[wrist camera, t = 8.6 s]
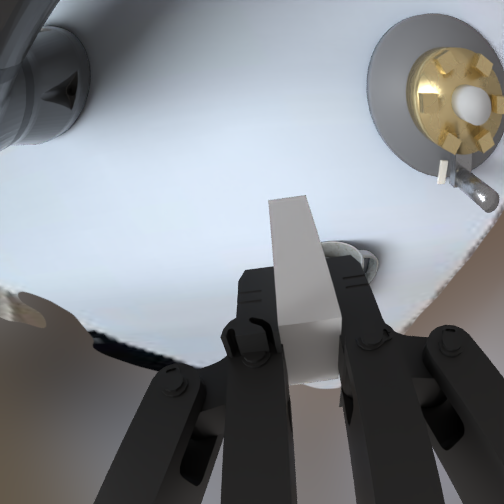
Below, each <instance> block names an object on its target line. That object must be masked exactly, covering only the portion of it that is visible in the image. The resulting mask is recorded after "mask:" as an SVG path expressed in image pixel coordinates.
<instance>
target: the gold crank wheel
mask: <svg viewBox="0 0 504 504" xmlns="http://www.w3.org/2000/svg"><path fill="white" fill-rule="evenodd" d="M492 66H493V63H491V62H490V61H489V60H488V59H487V58H486V57H484V56H483V55H482V54H480V53H475V52H473V51H471V50H468V49H464V48H457V47H437V48H433V49H430V50H428V51H426V52H425V53H423V54H422V55H421V56H420V57H419V58H418V59H417V60H416V61H415V63H414V64H413V66H412V68H411V70H410V72H409V75H408V78H407V84H406V101H407V106H408V110H409V113H410V116H411V118H412V120H413V122H414V124H415V126H416V127H417V129H418V130H419V131H420V132H421V133H422V134H423V135H424V136H425V137H426V138H427V139H429V140H430V141H432V142H433V143H435V144H437V145H438V146H440V147H441V148H443V149H445V150H447V151H448V152H451V158H450V182H449V183H450V184H451V185H452V186H453V187H454V188H455V187H458V188H459V189H461V190H462V191H463V192H464V193H465V194H466V195H468V196H469V197H470V198H471V199H472V200H473V201H474V202H475V203H477V204H478V205H479V206H480V207H481V208H482V209H483V210H484V211H485V212H488V213H490V212H492V211H494V210H495V209H496V208H497V206H498V204H499V195H498V193H497V192H496V191H494V190H493V189H492V188H491V187H489V186H488V185H487V184H486V183H484V182H483V181H482V180H480V179H479V178H478V177H476V176H475V175H474V174H472V173H471V165H472V153H475V152H477V151H480V152H482V153H485V152H486V151H487V150H489V149H490V148H491V147H492V146H494V145H495V144H494V141H493V137H494V136H495V134H496V132H497V130H498V128H499V126H500V123H501V119H502V114H504V96H503V95H502V90H501V86H500V83H499V81H498V78H497V76H496V74H495V72H494V71H493V69H492ZM462 84H467V85H471V86H474V87H478V88H481V89H483V90H484V91H485V92H486V93H487V94H488V96H489V98H490V101H491V114H490V116H489V118H488V120H487V121H486V122H485V123H484V124H482V125H473V124H471V123H469V122H466V121H464V120H462V119H460V118H459V117H457V116H456V114H455V113H454V111H453V108H452V104H451V98H452V94H453V91H454V90H455V89H456V88H457V87H458V86H459V85H462Z"/></svg>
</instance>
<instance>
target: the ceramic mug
mask: <svg viewBox="0 0 504 504" xmlns="http://www.w3.org/2000/svg"><path fill="white" fill-rule="evenodd" d="M321 245H322V249H323V252H324V255H325V258H331V257H339V256H346V255H351V256H353V257H354V258H355V259H356V260H357V261H358V262H360V263H361V266H362V268H363V270H364V258H370V261H369V265H368V269H367V272H366V274H365V276H366V278H367V280H368V283H370V282H371V281H372V279H373V278H374V276H375V274H376V272H377V269H378V259H377V257H376V256H374V255H373V254H372V253H371V252H369V251H367V250H358V249H357V248H355V247H354V246H352V245H350V244H347V243H343V242H337V241H328V242H321Z"/></svg>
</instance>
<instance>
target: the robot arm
mask: <svg viewBox="0 0 504 504" xmlns="http://www.w3.org/2000/svg"><path fill="white" fill-rule="evenodd" d="M59 1H60V0H0V151H1V150H3V149H5V148H6V147H8V146H10V145H36V144H41V143H44V142H47V141H49V140H51V139H53V138H55V137H57V136H59V135H61V134H62V133H64V132H65V131H66V130H67V129H69V128H70V127H71V126H72V124H73V123H74V122H75V121H76V119H77V118H78V116H79V115H80V113H81V111H82V109H83V107H84V104H85V102H86V99H87V95H88V91H89V84H90V67H89V61H88V57H87V54H86V51H85V49H84V47H83V45H82V44H81V42H80V41H79V39H78V38H77V37H76V36H75V35H74V34H72V33H71V32H70V31H68V30H66V29H64V28H61V27H55V26H43V25H44V24H45V22H46V20H47V19H48V17H49V16H50V14H51V13H52V11H53V10H54V8H55V7H56V5H57V4H58V2H59ZM268 203H269V214H270V226H271V238H272V251H273V263H274V266H273V267H265V268H258V269H250V270H245V271H244V273H243V275H242V276H241V278H240V279H239V281H238V298H237V304H238V305H237V315H236V318H235V319H233V320H232V321H230V322H229V323H228V324H227V325H226V327H225V328H224V329H223V332H222V335H221V340H222V342H223V345H224V347H225V350H226V353H227V356H226V357H225V358H223V359H222V360H221V361H219V362H217V363H215V364H212V365H210V366H207V367H204V368H201V369H198V370H195V369H194V368H193V367H192V366H189V365H187V364H172V365H169V366H166V367H164V368H163V369H162V370H160V371H159V372H158V373H157V374H156V376H155V377H154V378H153V379H152V381H151V383H150V385H149V387H148V389H147V391H146V393H145V395H144V397H143V400H142V402H141V404H140V406H139V408H138V410H137V412H136V414H135V416H134V418H133V420H132V422H131V424H130V426H129V428H128V431H127V433H126V435H125V437H124V439H123V441H122V443H121V445H120V447H119V449H118V452H117V454H116V456H115V458H114V460H113V462H112V464H111V467H110V469H109V471H108V473H107V475H106V477H105V480H104V482H103V484H102V486H101V488H100V491H99V493H98V495H97V497H96V499H95V502H94V504H201V502H202V499H203V496H204V493H205V491H206V488H207V484H208V482H209V479H210V476H211V473H212V470H213V467H214V464H215V461H216V458H217V455H218V452H219V450H220V446H221V444H222V440H223V437H224V445H223V465H222V486H221V504H297V491H296V490H297V489H296V472H295V457H294V441H293V427H292V413H291V401H290V395H289V385H296V384H304V383H312V382H319V381H326V380H332V379H338V377H339V375H340V380H341V394H340V405H339V407H342V406H343V412H344V418H345V424H346V430H347V437H348V443H349V450H350V457H351V464H352V471H353V479H354V486H355V495H356V503H357V504H445V502H444V497H443V493H442V488H441V483H440V478H439V474H438V470H437V466H436V461H435V457H434V453H433V449H434V451H435V452H436V454H437V456H438V458H439V460H440V462H441V463H442V465H443V467H444V469H445V471H446V472H447V474H448V476H449V478H450V480H451V482H452V484H453V485H454V487H455V489H456V491H457V493H458V495H459V496H460V499H461V500H462V503H463V504H504V378H503V376H502V375H501V374H500V373H499V371H498V370H497V369H496V367H495V366H494V365H493V364H492V363H491V361H490V360H489V358H488V357H487V356H486V355H485V354H484V352H483V351H482V350H481V348H479V346H478V345H477V344H476V342H475V341H474V340H473V339H472V338H471V336H470V335H469V334H468V333H467V332H465V331H464V330H463V329H461V328H459V327H456V326H453V325H443V326H440V327H437V328H436V329H434V330H433V331H432V332H431V333H430V335H429V337H416V336H406V335H402V334H399V333H397V332H395V331H393V329H392V328H391V327H390V326H389V325H387V324H386V323H385V322H384V320H383V318H382V316H381V313H380V311H379V308H378V305H377V303H376V300H375V298H374V295H373V293H372V290H371V288H370V285H369V283H368V280H367V278H366V276H365V273H364V270H363V268H362V266H361V263H360V262H358V261H357V260H356V259H355V258H354V257H353V256H351V255H346V256H339V257H331V258H325V255H324V252H323V249H322V245H321V242H320V239H319V236H318V232H317V229H316V226H315V223H314V220H313V217H312V213H311V210H310V207H309V204H308V201H307V198H306V195H304V196H296V197H289V198H282V199H274V200H268ZM432 447H433V449H432Z"/></svg>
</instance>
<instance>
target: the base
mask: <svg viewBox="0 0 504 504" xmlns="http://www.w3.org/2000/svg"><path fill="white" fill-rule="evenodd" d="M437 47H457V48H464V49H468V50H471V51H473V52H475V53H480V54H482V55H483V56H484V57H486V58H487V59H488V60H489V61H490V62H491V63H493V66H492V69H493V71H494V72H495V74H496V76H497V78H498V81H499V83H500V86H501V90H502V95H503V96H504V70H503V67H502V65H501V63H500V61H499V58H498V57H497V55H496V53H495V51H494V50H493V48H492V47H491V46H490V44H489V43H488V42H487V41H486V39H485V38H484V37H483V36H482V35H481V34H480V33H479V32H477V31H476V30H475V29H474V28H473V27H471V26H470V25H468V24H467V23H465V22H463V21H461V20H459V19H457V18H454V17H451V16H448V15H442V14H423V15H417V16H412V17H409V18H407V19H404V20H402V21H400V22H399V23H397V24H395V25H394V26H393V27H391V28H390V29H389V30H388V31H387V32H386V33H385V34H384V35H383V37H382V38H381V39H380V41H379V42H378V44H377V46H376V47H375V50H374V52H373V54H372V56H371V60H370V63H369V67H368V74H367V99H368V105H369V109H370V113H371V116H372V119H373V122H374V124H375V126H376V129H377V131H378V133H379V134H380V136H381V138H382V139H383V141H384V142H385V143H386V145H387V146H388V147H389V148H390V150H391V151H392V152H393V153H394V154H396V155H397V156H398V157H399V158H400V159H401V160H402V161H404V162H405V163H406V164H408V165H409V166H410V167H412V168H414V169H416V170H417V171H419V172H422V173H424V174H427V175H431V176H436V177H438V180H437V183H438V184H445V179H446V177H450V158H451V152H448V151H447V150H445V149H443V148H441V147H440V146H438V145H437V144H435V143H433V142H432V141H430V140H429V139H427V138H426V137H425V136H424V135H423V134H422V133H421V132H420V131H419V130H418V129H417V127H416V126H415V124H414V122H413V120H412V118H411V116H410V113H409V110H408V106H407V101H406V84H407V78H408V75H409V72H410V70H411V68H412V66H413V64H414V63H415V61H416V60H417V59H418V58H419V57H420V56H421V55H422V54H423V53H425V52H426V51H428V50H430V49H433V48H437ZM451 104H452V108H453V111H454V113H455V114H456V116H457V117H459V118H460V119H462V120H464V121H466V122H469V123H471V124H473V125H482V124H484V123H485V122H486V121H487V120H488V118H489V116H490V114H491V101H490V98H489V96H488V94H487V93H486V92H485V91H484V90H483V89H481V88H478V87H474V86H471V85H467V84H462V85H459V86H458V87H457V88H456V89H455V90H454V91H453V94H452V98H451ZM503 132H504V114H502V119H501V123H500V126H499V128H498V130H497V132H496V134H495V136H494V137H493V141H494V144H495V145H494V146H492V147H491V148H490V149H489V150H487V151H486V152H485V153H482V152H480V151H477V152H475V153H472V165H471V170H473V169H475V168H476V167H478V166H479V165H480V164H482V163H483V162H484V161H485V160H486V159H487V158H488V157H489V156H490V155H491V153H492V152H493V151H494V150H495V148H496V146H497V145H498V143H499V141H500V139H501V137H502V135H503Z"/></svg>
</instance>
